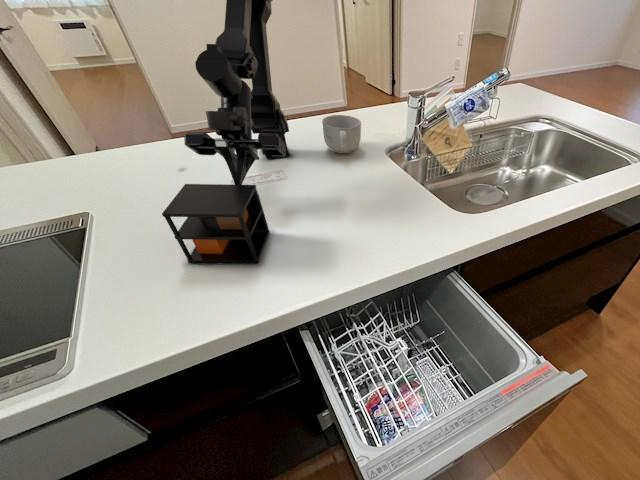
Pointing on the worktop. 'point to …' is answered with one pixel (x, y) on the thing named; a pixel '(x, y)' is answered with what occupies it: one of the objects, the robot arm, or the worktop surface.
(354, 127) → the teacup
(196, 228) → the snack rack
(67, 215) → the worktop surface
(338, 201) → the worktop surface
